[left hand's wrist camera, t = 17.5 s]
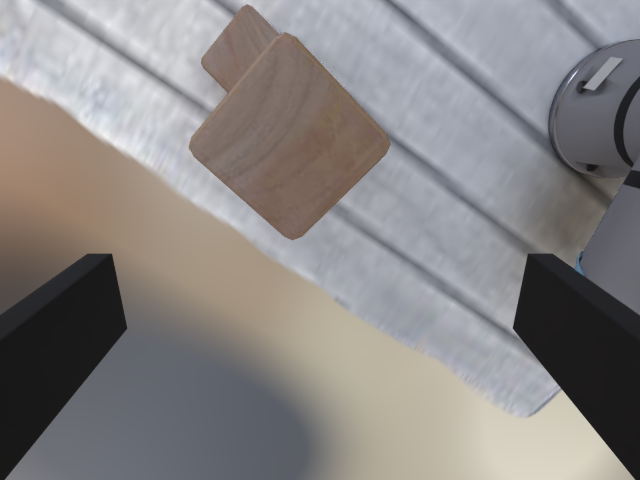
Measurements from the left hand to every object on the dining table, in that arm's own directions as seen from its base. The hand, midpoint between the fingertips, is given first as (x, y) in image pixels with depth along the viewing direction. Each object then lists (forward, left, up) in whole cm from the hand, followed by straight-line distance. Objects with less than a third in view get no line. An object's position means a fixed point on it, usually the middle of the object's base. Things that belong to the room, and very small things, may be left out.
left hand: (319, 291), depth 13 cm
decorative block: (+7, +2, -38) cm, 39 cm away
